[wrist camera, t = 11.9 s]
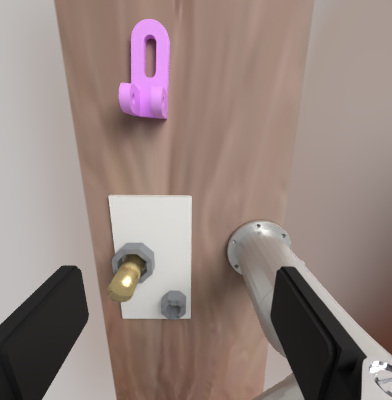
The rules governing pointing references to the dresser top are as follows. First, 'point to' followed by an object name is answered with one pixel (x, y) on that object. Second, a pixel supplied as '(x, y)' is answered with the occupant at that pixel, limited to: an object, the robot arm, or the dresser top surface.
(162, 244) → the fitting board
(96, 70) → the dresser top surface
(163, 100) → the bracket
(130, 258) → the brass pipe fitting
